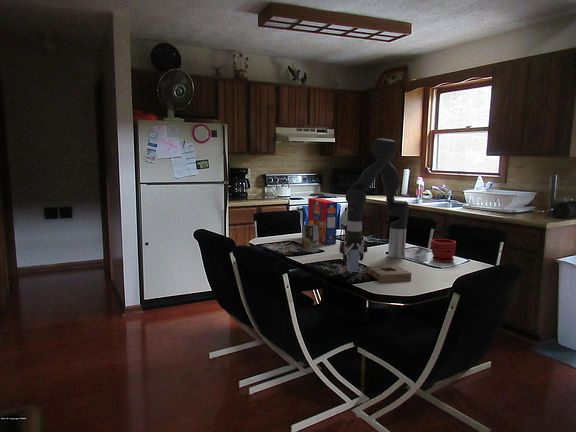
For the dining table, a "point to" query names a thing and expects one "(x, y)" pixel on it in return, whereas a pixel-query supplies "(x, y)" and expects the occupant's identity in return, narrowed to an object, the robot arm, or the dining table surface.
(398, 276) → the socket block
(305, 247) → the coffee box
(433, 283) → the dining table surface
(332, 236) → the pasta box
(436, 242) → the plant pot
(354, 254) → the peg
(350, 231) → the robot arm
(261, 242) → the dining table surface
